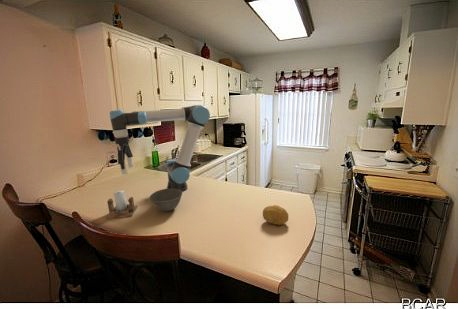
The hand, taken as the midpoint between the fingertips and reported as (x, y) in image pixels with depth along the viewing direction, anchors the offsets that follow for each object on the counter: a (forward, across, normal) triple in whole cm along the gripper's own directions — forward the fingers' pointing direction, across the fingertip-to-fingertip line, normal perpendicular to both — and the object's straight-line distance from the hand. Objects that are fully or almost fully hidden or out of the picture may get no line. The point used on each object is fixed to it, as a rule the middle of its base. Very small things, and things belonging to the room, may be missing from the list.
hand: (128, 170), depth 134 cm
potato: (+26, +40, +80) cm, 93 cm away
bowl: (+24, +11, +22) cm, 35 cm away
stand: (+23, +9, -5) cm, 25 cm away
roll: (+22, +9, -5) cm, 25 cm away
